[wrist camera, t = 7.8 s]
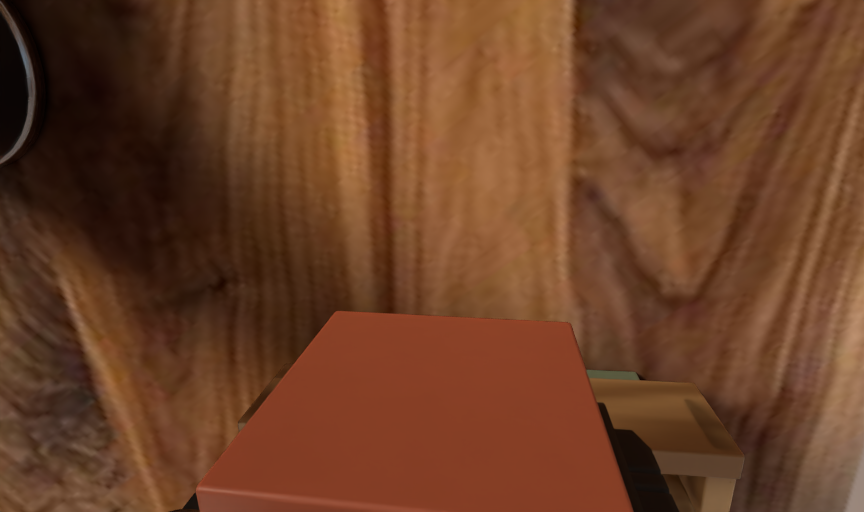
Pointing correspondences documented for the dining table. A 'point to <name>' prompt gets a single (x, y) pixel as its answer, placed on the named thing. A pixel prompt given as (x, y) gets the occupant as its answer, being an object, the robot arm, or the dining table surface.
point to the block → (425, 424)
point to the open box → (658, 436)
